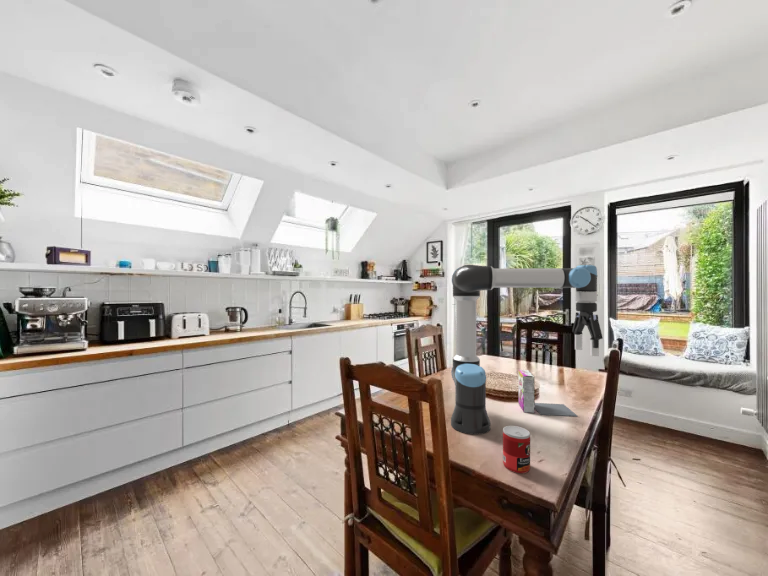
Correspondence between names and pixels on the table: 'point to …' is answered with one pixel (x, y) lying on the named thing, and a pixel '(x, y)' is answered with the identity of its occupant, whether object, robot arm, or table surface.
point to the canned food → (516, 449)
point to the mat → (554, 409)
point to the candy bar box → (526, 391)
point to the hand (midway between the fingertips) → (586, 352)
